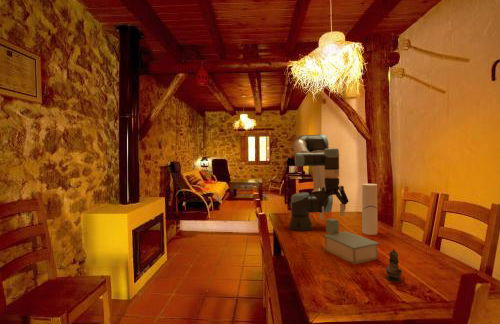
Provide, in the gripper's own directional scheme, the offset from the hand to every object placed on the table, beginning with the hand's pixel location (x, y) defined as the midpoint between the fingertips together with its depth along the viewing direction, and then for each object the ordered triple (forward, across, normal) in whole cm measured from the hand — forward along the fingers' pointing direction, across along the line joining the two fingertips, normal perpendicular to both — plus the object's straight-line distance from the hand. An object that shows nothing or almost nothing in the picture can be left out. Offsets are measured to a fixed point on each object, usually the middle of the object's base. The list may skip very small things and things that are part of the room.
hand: (332, 217), depth 144 cm
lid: (+10, 0, -10) cm, 14 cm away
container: (+16, +36, +10) cm, 41 cm away
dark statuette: (+16, -3, -40) cm, 43 cm away
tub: (+16, 0, -12) cm, 20 cm away
